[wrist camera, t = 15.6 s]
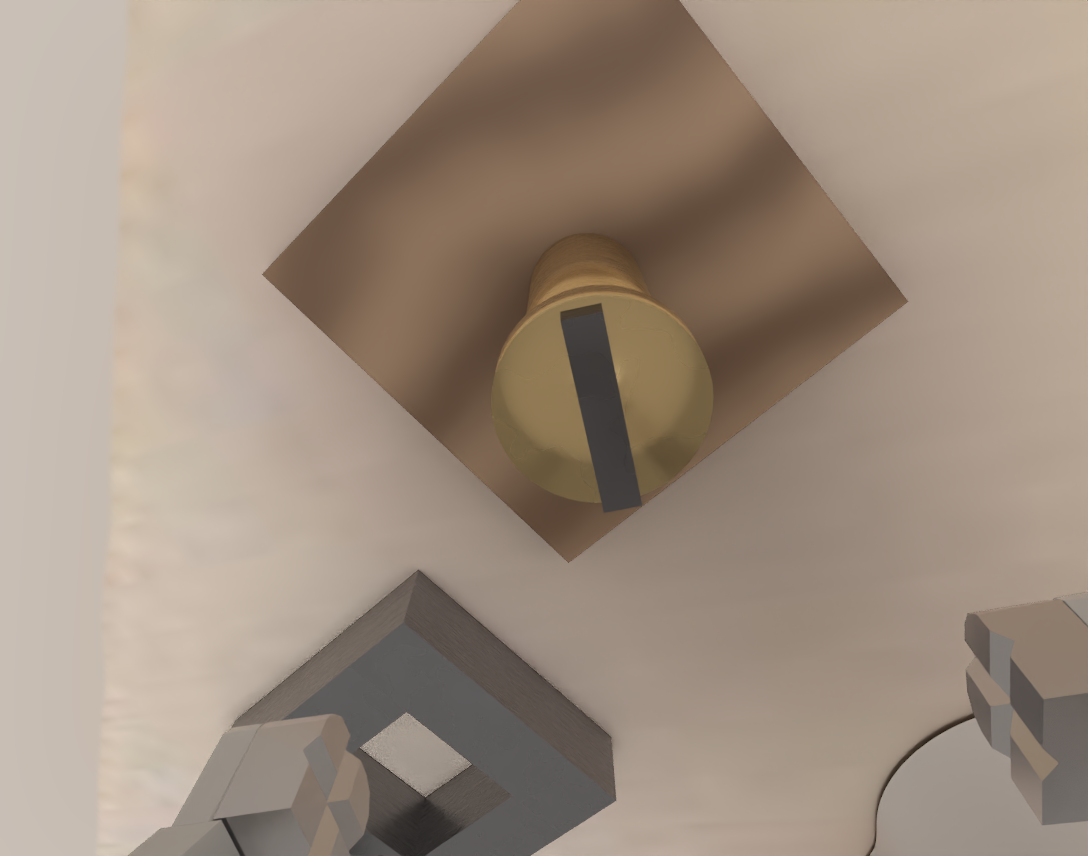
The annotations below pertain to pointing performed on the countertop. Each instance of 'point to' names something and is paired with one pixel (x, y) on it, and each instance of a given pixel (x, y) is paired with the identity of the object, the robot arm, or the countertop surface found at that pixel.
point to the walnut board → (583, 230)
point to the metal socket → (452, 730)
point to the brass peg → (599, 380)
